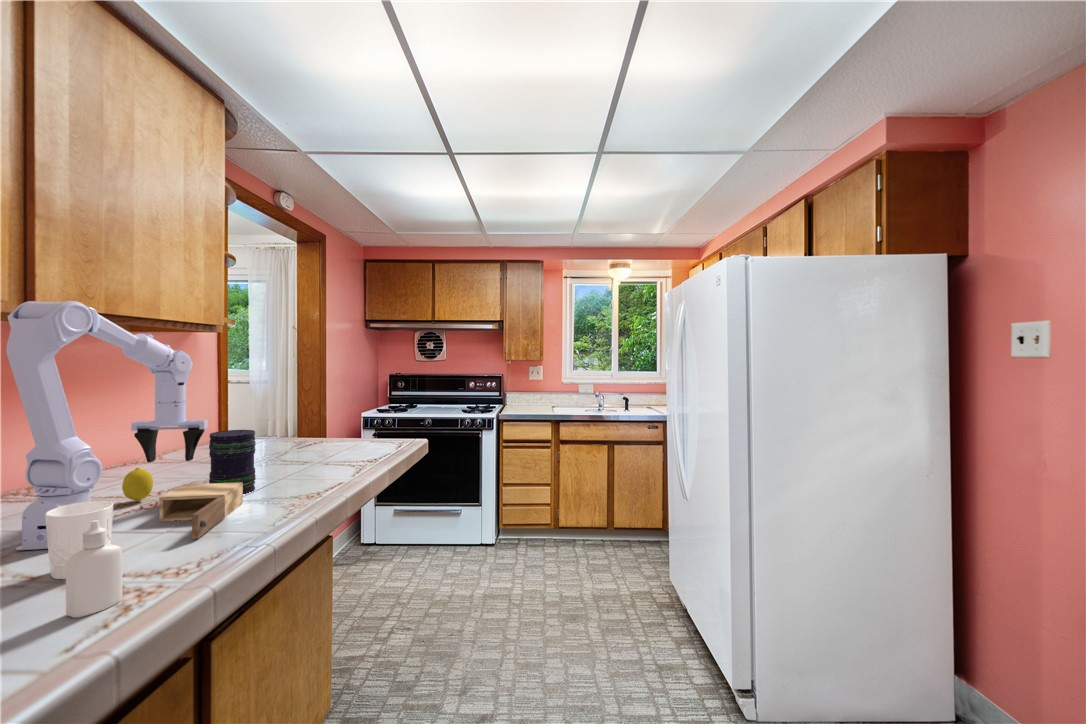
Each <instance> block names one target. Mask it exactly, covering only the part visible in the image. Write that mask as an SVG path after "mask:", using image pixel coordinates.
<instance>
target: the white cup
mask: <svg viewBox="0 0 1086 724" xmlns="http://www.w3.org/2000/svg"><path fill="white" fill-rule="evenodd" d="M113 515H114V502H112V501H108V500H107V501H106V500H94V501H93V500H91V502H82V503H76V504H70V505H66V506H62V507H58V508H55V509H52V510H50V511H48V512H46V514H45V517H46V532H47V546H48V548H47V550H48V551H47V552H48V553H47V554H48V560H49V571H50V577H52V579H54V580H66V563H67V560H68V559H69V558H70V557H71V556H73V555H74V554H76V553H77V552H79V551H81V550H83V549H84V548H83V533H84V532H85V531H87V530H89V529H90V525H91V521H94V520H98V521H99V525H100V527H101V528H105V529H107V544H112V537H113V536H112V535H113V519H114V517H113Z"/></svg>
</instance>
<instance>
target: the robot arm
mask: <svg viewBox="0 0 1086 724" xmlns="http://www.w3.org/2000/svg"><path fill="white" fill-rule="evenodd" d="M7 319H8V323H9V324H8V325H9V326H10V330H9V335H8V339H7V343H6V344H7V345H6V350H5V351H6V357H7V359H8V362H9V366H10V368H11V372H12V374H13V379H14V381H15V384H16V388H17V391H18V395H19V398H20V401H21V404H22V407H23V409H24V413H25V417H26V419H27V422H28V423H27V424H28V425H29V429H30V432H31V436H32V439H33V442H34V445H35V446H34V447H33V448H32V449H31V450H29V451H28V452H27V453H26V454H25V458H26V462H27V464H26V465H27V466H26V468H25V479H26V482H27V483H28V485H30V486H31V487H34V493H35V494H36V498H35V500H34V501H33V502H32V503H30V504H28V505H27V506H26V508H25V509H24V510H23V512H22V515H21V523H22V524H21V544H20V545H19V546H17V547H16V548H15V550H16V551H29V550H48V546H47V532H46V517H45V514H46V512H48V511H50V510H52V509H55V508H58V507H62V506H66V505H70V504H76V503H82V502H91V501H92V490H93V489H95V485H96V484H97V483H98V482H99V480H100V479H101V477H102V475H103V464H102V462H101V460H100V459H99V458H98V457H96V455H95V454H94V453H93V450H92V447H91V446H90V445H89V444H88V443H86V442H85V441H83V440H81V438H79V437H78V435H77V432H76V428H75V425H74V422H73V417H72V414H71V411H70V408H69V405H68V400H67V397H66V393H65V389H64V386H63V383H62V379H61V377H60V376H61V375H60V372H59V369H58V365H57V362H56V359H55V356H56V355H57V353H59V352H60V350H61V349H62V348H63V347H65V346H67V345H69V344H71V343H72V342H73V341H75V340H77V339H79V338H80V337H82V336H83V335H85V334H87V335H89V336H91V337H94V338H96V339H99V340H101V341H104V342H106V343H109V344H111V345H113V346H116V347H119V348H121V351H122V354H123V356H125V357H127V358H128V359H131V360H132V361H134V362H136V363H139V364H142V365H143V366H146V367H147V368H148V370H149V372H150V373H151V374H153V375H154V420H139V421H137V420H136V421H133V422H132V421H131V424H130V425H131V426H130V427H131V431H133V432H134V431H136V432H135V433H133V435H134V438H135V439H136V440H137V441H138V442H137V443H139V445H140V446H141V449H142V450H143V454H144V456H145V459H146V463H152V462H155V461H156V458H157V446H156V445H157V439H158V434H159V430H160V431H162V430H163V431H164V430H166V431H167V430H170V431H171V430H183V431H182V435H183V439H184V448H185V449H184V458H185V462H191V461H192V460H194V456H195V451H196V449H197V446H198V444H199V442H200V440H201V438H202V436H203V435H204V433H205V430H206V429H209V420H208V419H187V382H188V381H189V374H190V372H191V371H192V369H193V365H194V363H193V362H192V359H191V356H190V355H189V354H188V353H186V352H185V351H183V350H174V349H173V348H171V345H169V344H167V343H164V344H163V343H161V342H160V341H158V340H156V339H154V335H152V334H150V333H134V334H133V333H131V332H130V331H128V330H126V329H124V328H123V327H121V326H119V325H117V324H116V323H114V322H113V321H110V320H109V319H107V318H106V317H105V316H103V315H100V314H99V313H98V310H97V309H95V308H92V307H89V306H87V305H85V304H84V303H82V302H80V301H75V300H69V301H68V300H67V301H35V300H34V301H33V300H32V301H31V300H30V301H25V302H23V303H21V304H19V305H17V307H16V308H14V309H13V311H11V313H9V314H8V315H7Z"/></svg>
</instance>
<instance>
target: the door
mask: <svg viewBox="0 0 1086 724" xmlns="http://www.w3.org/2000/svg"><path fill="white" fill-rule="evenodd" d="M224 519H226V517H225V496H220V497H218V498H217V499H215V500H214V501H212V502H211V503H209V504H208V505H206V506H205V507H203V508H202V509H200V510H199V511H197V512H196V513H194V514H193V515H192V520H191V539H192V540H194V539H200V538H201V537H202V536H204V534H205V533H207V532H208V531H209V530H211V529H212V528H214V527H215V526H216V525H217V524H219V523H220V522H221V521H223V520H224Z"/></svg>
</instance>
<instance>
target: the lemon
mask: <svg viewBox="0 0 1086 724" xmlns="http://www.w3.org/2000/svg"><path fill="white" fill-rule="evenodd" d="M152 475H153V474H151V472H149V470H147V469H144V468H141V467H136V468H135V469H133V470H131V471H130V472H128V473H127V474H126V475H125V476H124V477H123V480H122V485H121V487H122V488H121V489H122V492H123V494H124V496H125V497H126V498H127V499H129V500H132V501H134V502H136V503H139V502H141V501H142V500H143V499H145V498H147V496H149V495H150V493H151V492H152V491H153V487H154V478H153V476H152Z"/></svg>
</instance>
